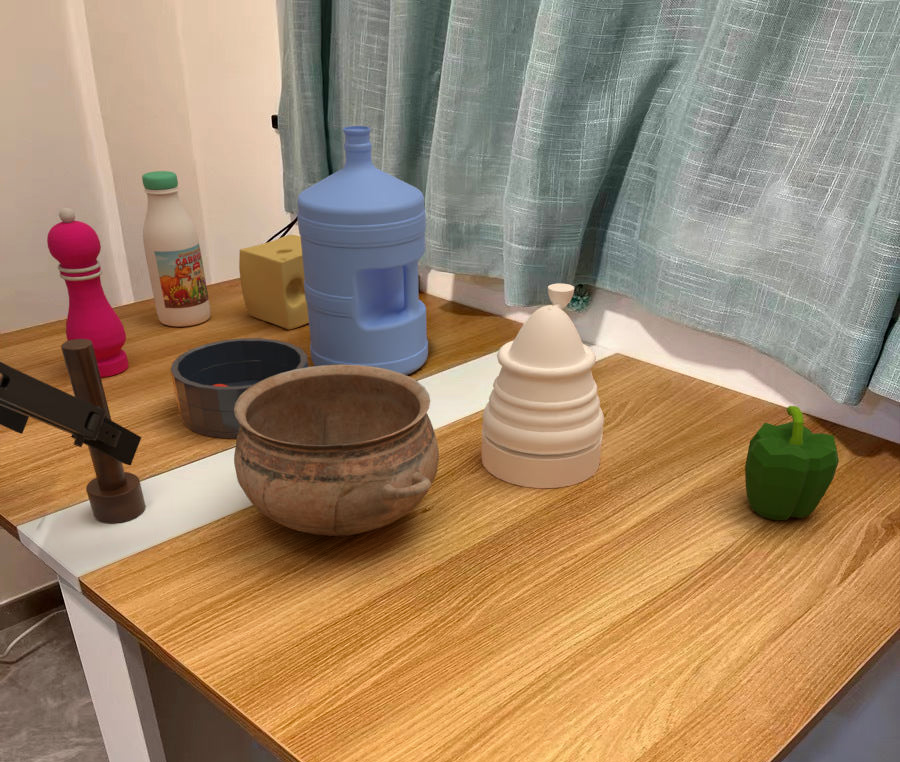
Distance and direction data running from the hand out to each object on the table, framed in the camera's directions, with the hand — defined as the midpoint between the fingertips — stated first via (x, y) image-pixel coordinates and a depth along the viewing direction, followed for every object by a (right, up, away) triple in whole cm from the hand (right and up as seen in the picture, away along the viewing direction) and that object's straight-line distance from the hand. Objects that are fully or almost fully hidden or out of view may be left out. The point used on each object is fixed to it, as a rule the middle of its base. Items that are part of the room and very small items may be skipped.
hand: (77, 434), depth 81 cm
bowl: (+10, +8, +26) cm, 29 cm away
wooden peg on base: (+1, -6, +7) cm, 10 cm away
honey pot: (+44, 0, +16) cm, 47 cm away
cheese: (+10, +28, +53) cm, 61 cm away
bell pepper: (+67, -6, +7) cm, 68 cm away
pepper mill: (-12, +15, +36) cm, 41 cm away
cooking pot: (+24, -7, +6) cm, 25 cm away
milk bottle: (-6, +27, +52) cm, 59 cm away
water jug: (+23, +17, +38) cm, 48 cm away
